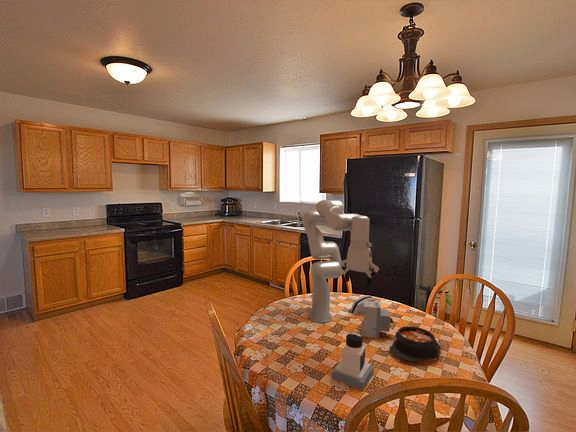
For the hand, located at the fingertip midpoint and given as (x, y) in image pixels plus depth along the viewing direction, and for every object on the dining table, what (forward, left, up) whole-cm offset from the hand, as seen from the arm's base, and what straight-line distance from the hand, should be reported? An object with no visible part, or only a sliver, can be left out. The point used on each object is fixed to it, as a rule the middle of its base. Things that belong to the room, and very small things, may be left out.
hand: (358, 283), depth 130 cm
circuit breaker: (+3, +20, -31) cm, 37 cm away
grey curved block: (-13, +44, -31) cm, 55 cm away
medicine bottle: (+6, -18, -26) cm, 32 cm away
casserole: (+22, +14, -31) cm, 40 cm away
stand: (+6, -18, -30) cm, 36 cm away
